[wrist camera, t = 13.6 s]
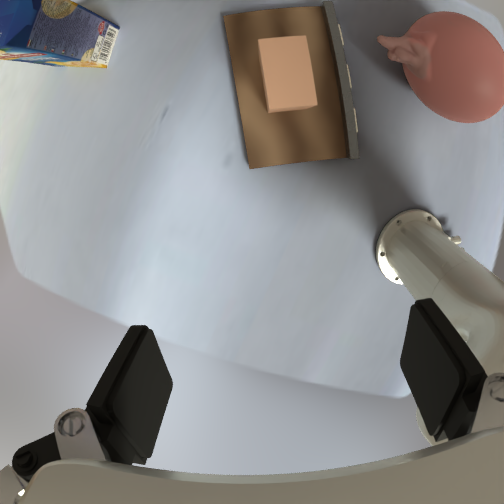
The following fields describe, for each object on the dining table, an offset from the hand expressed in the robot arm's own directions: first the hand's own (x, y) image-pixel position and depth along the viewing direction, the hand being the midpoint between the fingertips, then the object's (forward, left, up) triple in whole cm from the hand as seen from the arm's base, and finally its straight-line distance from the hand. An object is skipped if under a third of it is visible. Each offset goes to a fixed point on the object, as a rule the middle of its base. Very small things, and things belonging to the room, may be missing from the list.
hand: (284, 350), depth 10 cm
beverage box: (+24, -27, -34) cm, 49 cm away
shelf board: (-4, -13, -33) cm, 36 cm away
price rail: (-11, -13, -33) cm, 38 cm away
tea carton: (-4, -13, -32) cm, 35 cm away
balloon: (-24, -15, -34) cm, 44 cm away
